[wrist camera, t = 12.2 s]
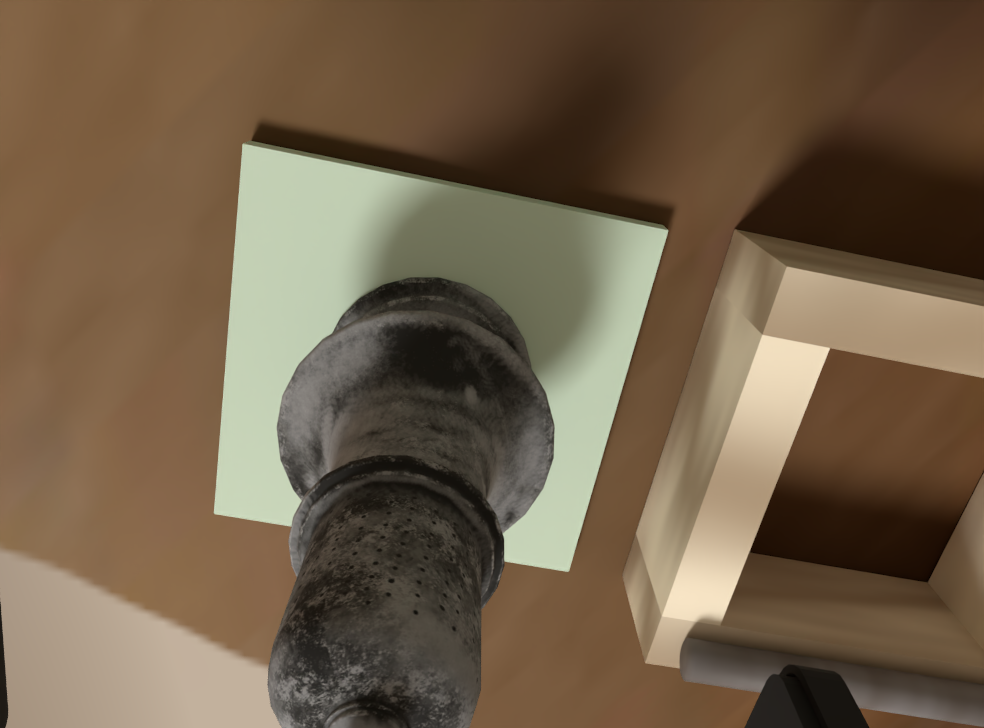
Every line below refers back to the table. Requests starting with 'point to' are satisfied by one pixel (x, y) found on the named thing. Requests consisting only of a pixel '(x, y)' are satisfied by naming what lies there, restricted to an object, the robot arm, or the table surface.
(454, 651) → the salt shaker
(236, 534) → the table surface
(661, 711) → the table surface
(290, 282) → the mat
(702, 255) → the table surface
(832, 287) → the holder
